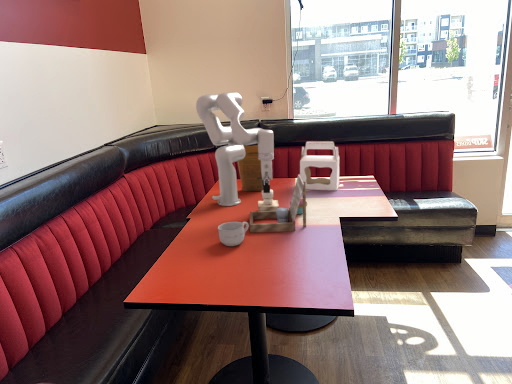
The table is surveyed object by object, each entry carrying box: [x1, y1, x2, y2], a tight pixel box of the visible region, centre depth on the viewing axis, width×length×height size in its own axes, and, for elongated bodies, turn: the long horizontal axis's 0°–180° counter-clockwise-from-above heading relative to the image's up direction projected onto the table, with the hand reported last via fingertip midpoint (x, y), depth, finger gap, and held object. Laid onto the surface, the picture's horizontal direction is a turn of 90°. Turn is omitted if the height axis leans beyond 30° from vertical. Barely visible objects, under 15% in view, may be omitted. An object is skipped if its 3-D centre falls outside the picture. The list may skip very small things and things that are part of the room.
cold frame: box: [249, 173, 307, 234], centre depth 176 cm, size 25×18×21 cm
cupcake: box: [289, 197, 308, 215], centre depth 191 cm, size 9×8×12 cm
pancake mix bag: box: [237, 144, 263, 192], centre depth 232 cm, size 7×19×28 cm, turn 82°
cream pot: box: [261, 188, 274, 205], centre depth 192 cm, size 6×6×7 cm
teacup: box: [217, 221, 250, 247], centre depth 159 cm, size 14×11×8 cm
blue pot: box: [276, 207, 289, 223], centre depth 179 cm, size 6×6×7 cm
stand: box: [257, 199, 280, 211], centre depth 193 cm, size 10×10×5 cm
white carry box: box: [299, 140, 340, 191], centre depth 232 cm, size 22×13×28 cm, turn 72°
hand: (266, 189), depth 191 cm, fingers open, 9 cm apart
